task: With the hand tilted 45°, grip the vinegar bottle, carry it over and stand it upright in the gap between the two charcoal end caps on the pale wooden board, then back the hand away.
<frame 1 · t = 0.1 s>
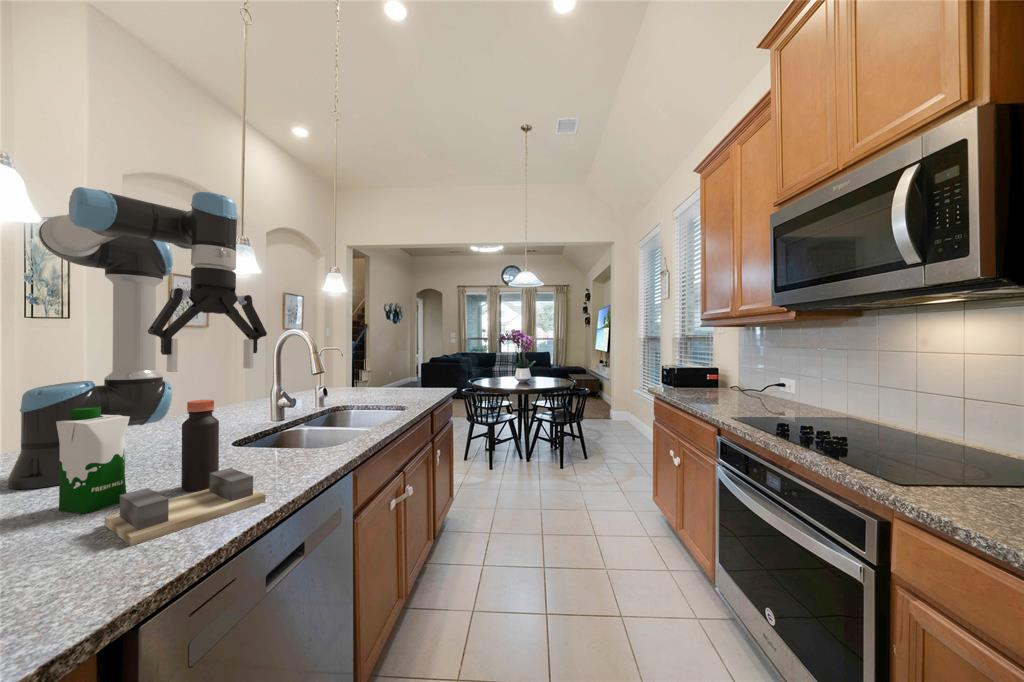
hand: (212, 370, 81), 28 cm above the countertop, tool pointing down, fingers open, 13 cm apart
end cap board: (190, 512, 77), on the countertop
vinegar: (200, 487, 90), on the countertop
milk carton: (94, 506, 80), on the countertop
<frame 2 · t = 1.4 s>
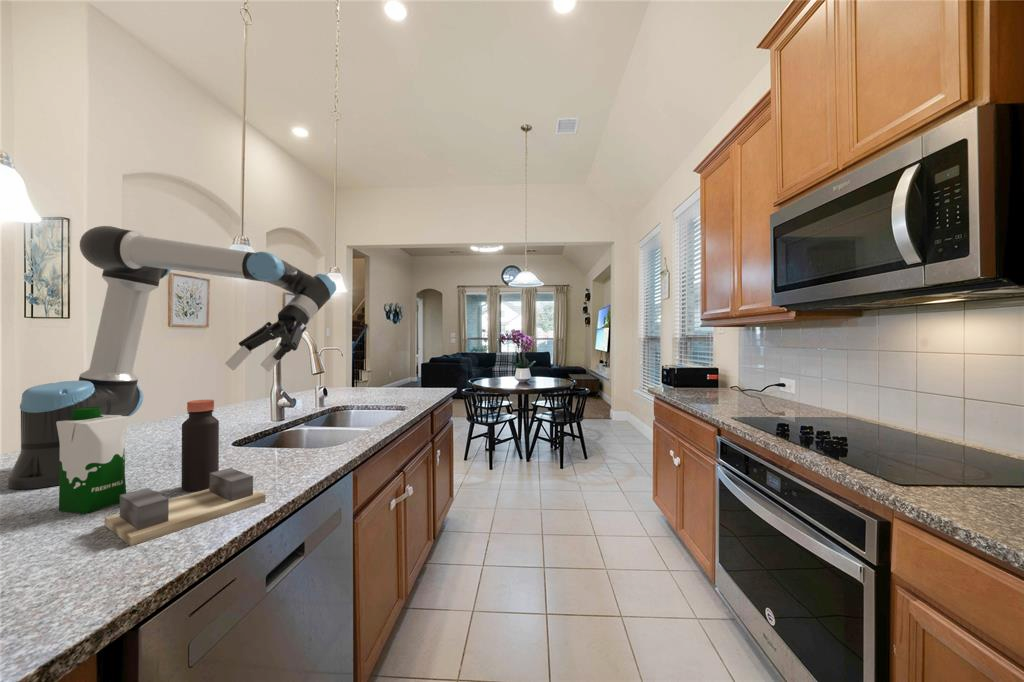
hand: (246, 367, 100), 27 cm above the countertop, tool tilted 45°, fingers open, 13 cm apart
nothing on the countertop moved.
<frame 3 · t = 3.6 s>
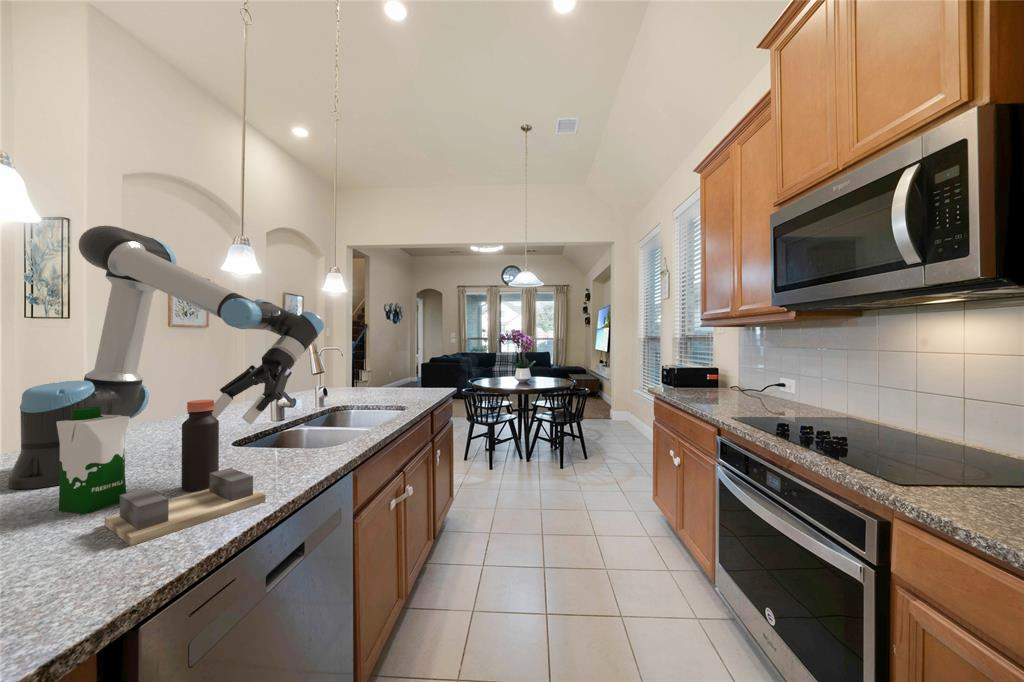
hand: (227, 419, 95), 15 cm above the countertop, tool tilted 45°, fingers open, 13 cm apart
nothing on the countertop moved.
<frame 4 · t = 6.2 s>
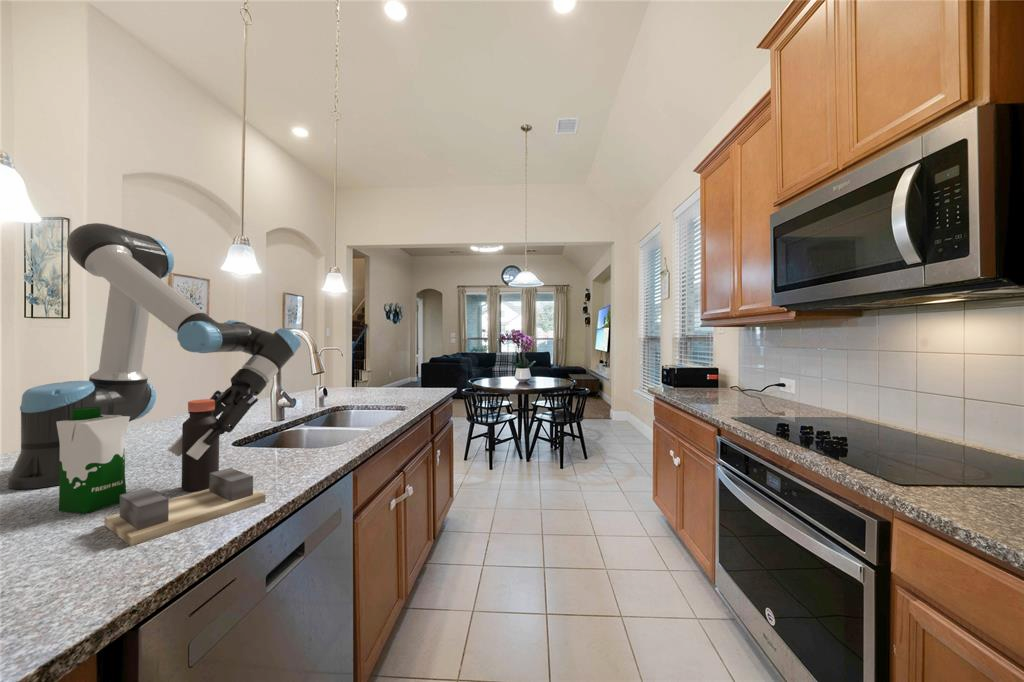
hand: (182, 454, 87), 8 cm above the countertop, tool tilted 45°, fingers closed on vinegar, 6 cm apart
vinegar: (200, 486, 90), on the countertop, touching gripper
everything else where it was.
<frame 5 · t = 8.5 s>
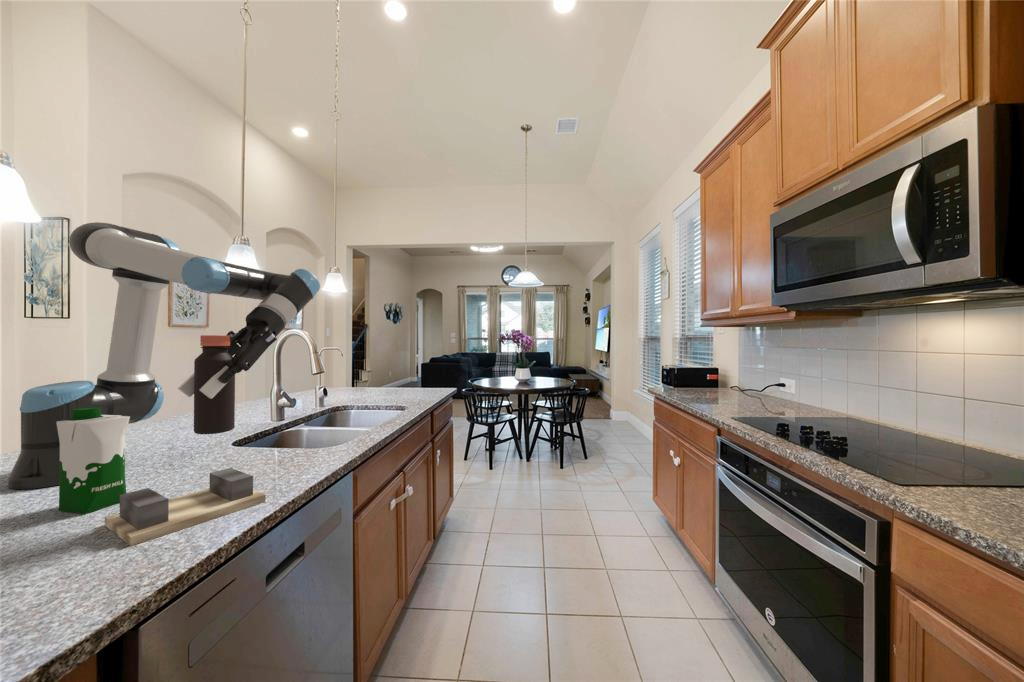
hand: (194, 393, 77), 24 cm above the countertop, tool tilted 45°, fingers closed on vinegar, 6 cm apart
vinegar: (214, 431, 81), point 15 cm above the countertop, touching gripper
everything else where it was.
when the fingers open (11 cm above the countertop, at t = 11.3 s): vinegar drops 1 cm, resting on end cap board.
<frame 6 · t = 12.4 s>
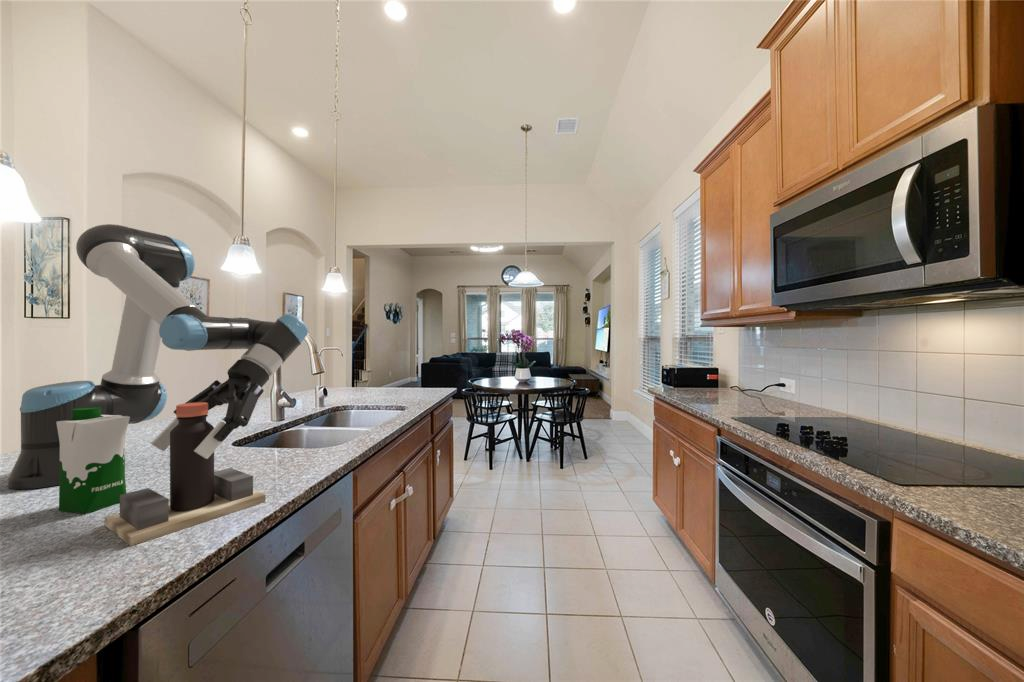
hand: (177, 451, 75), 13 cm above the countertop, tool tilted 45°, fingers open, 13 cm apart
vinegar: (192, 505, 77), point 1 cm above the countertop, touching end cap board
everything else where it was.
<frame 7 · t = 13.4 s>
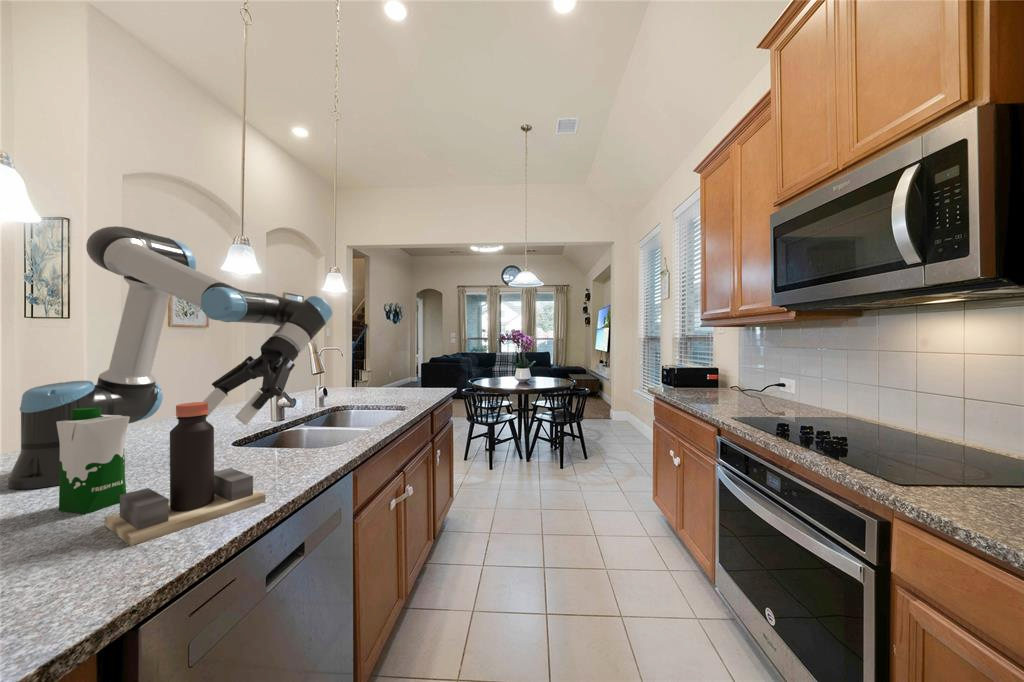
hand: (219, 418, 81), 18 cm above the countertop, tool tilted 45°, fingers open, 13 cm apart
nothing on the countertop moved.
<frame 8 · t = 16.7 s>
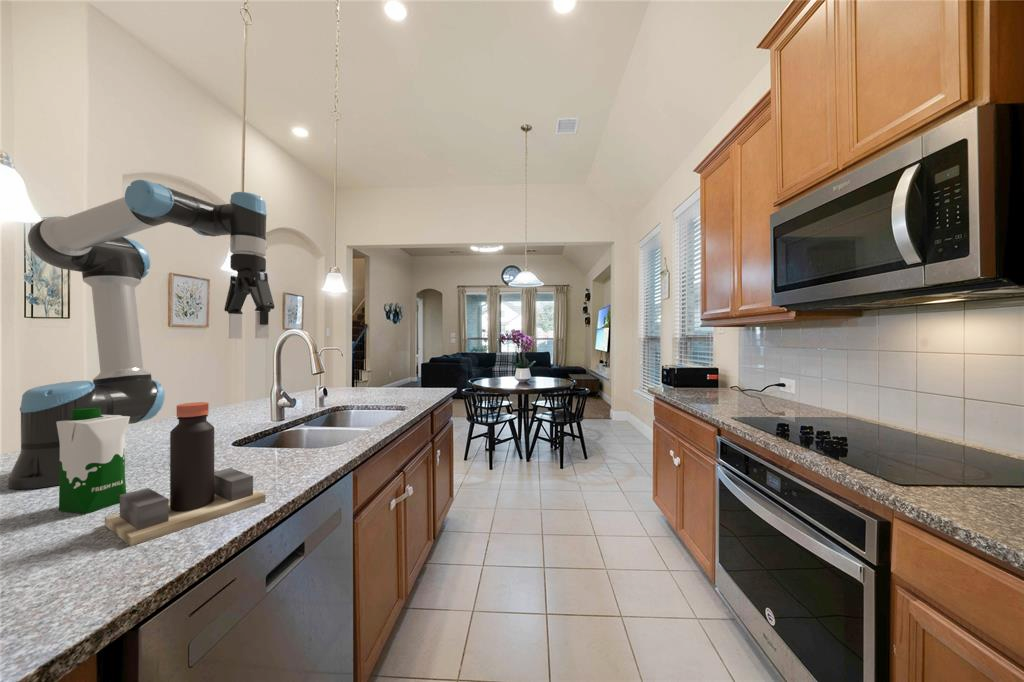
hand: (248, 338, 99), 35 cm above the countertop, tool pointing down, fingers open, 13 cm apart
nothing on the countertop moved.
at the end: vinegar 0.3 cm off-centre on the end cap board, point 1.3 cm above the end cap board's base; vinegar tilted 0°; the gripper is holding nothing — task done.
